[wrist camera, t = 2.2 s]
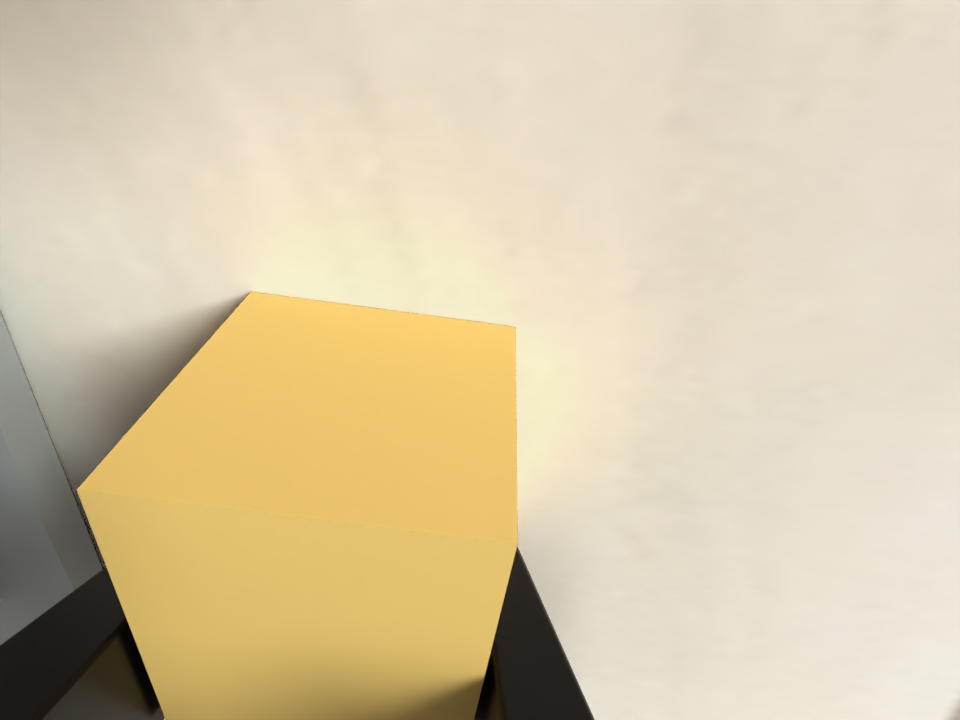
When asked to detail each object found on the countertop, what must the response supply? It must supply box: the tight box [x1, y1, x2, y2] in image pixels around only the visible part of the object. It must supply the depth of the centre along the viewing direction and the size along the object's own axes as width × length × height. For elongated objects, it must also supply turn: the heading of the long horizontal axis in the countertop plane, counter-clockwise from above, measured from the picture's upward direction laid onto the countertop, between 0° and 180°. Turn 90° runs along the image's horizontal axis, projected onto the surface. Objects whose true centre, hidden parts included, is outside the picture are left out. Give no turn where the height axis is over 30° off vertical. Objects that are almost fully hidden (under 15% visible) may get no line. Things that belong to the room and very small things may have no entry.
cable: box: [77, 292, 518, 720], centre depth 10 cm, size 13×4×4 cm, turn 173°
